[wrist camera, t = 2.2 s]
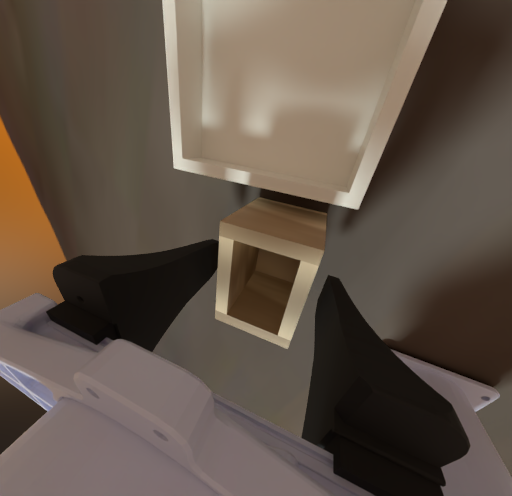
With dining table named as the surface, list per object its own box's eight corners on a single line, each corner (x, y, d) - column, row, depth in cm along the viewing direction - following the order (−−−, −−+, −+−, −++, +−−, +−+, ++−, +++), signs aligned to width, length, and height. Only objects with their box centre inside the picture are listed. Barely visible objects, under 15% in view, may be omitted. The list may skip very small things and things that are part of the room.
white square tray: (352, 198, 12) (358, 209, 10) (199, 165, 15) (173, 168, 12) (484, -133, 6) (575, -299, 4) (197, -90, 9) (150, -175, 7)
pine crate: (300, 288, 16) (287, 348, 11) (248, 271, 18) (215, 318, 13) (327, 212, 13) (324, 250, 8) (259, 196, 14) (220, 221, 9)
